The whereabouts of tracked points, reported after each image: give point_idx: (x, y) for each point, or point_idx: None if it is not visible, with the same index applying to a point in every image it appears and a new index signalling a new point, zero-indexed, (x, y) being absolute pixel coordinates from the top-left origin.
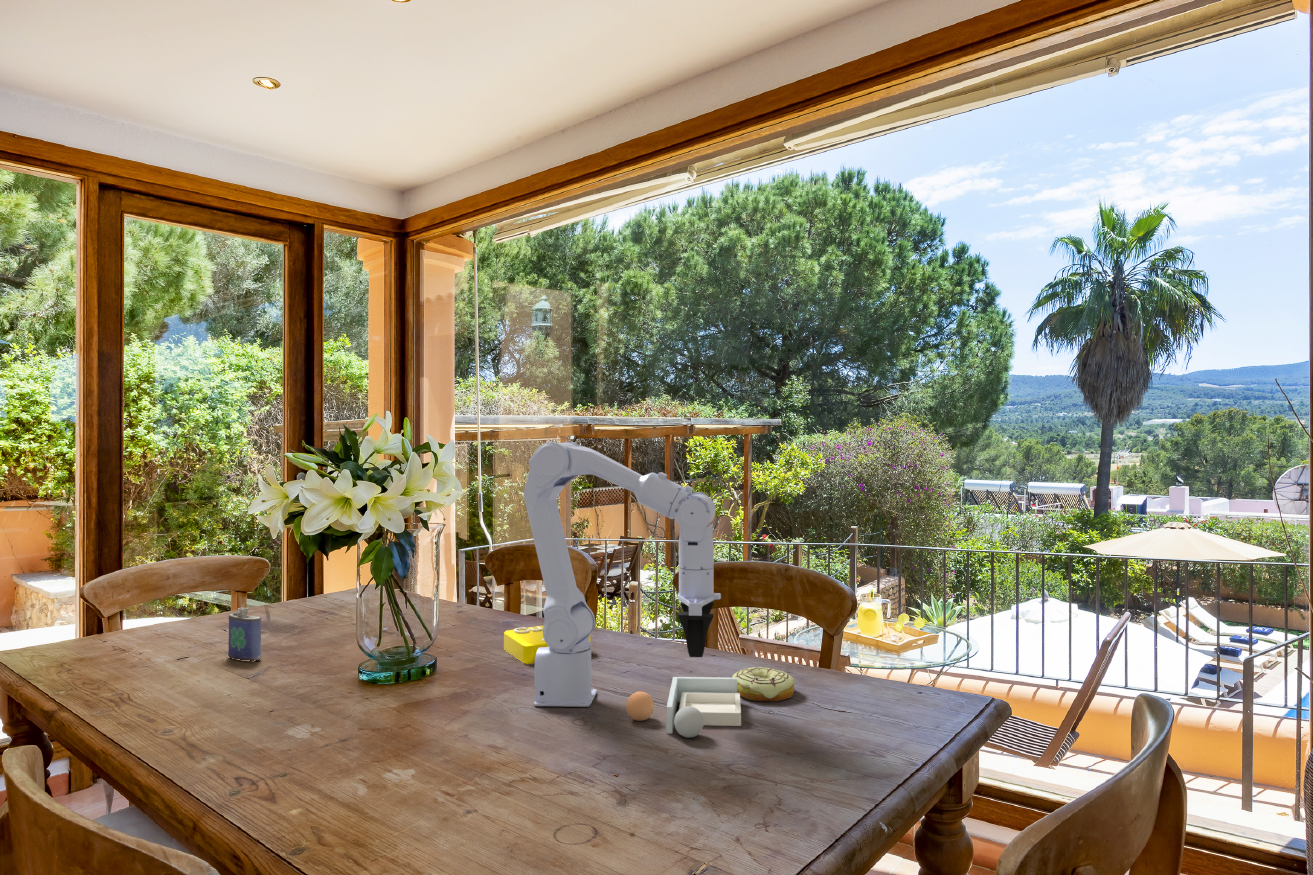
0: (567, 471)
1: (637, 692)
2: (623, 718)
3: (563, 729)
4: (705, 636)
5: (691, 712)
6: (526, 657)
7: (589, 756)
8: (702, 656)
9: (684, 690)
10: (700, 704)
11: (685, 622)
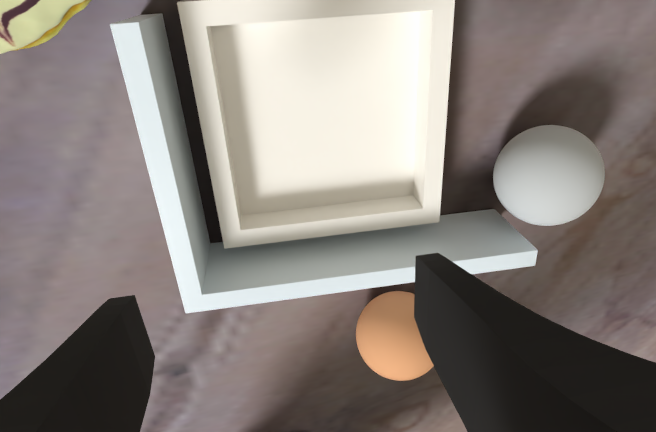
0: None
1: (413, 372)
2: None
3: (452, 428)
4: (544, 320)
5: (599, 179)
6: None
7: (607, 344)
8: (437, 253)
9: (202, 243)
10: (259, 164)
11: None
